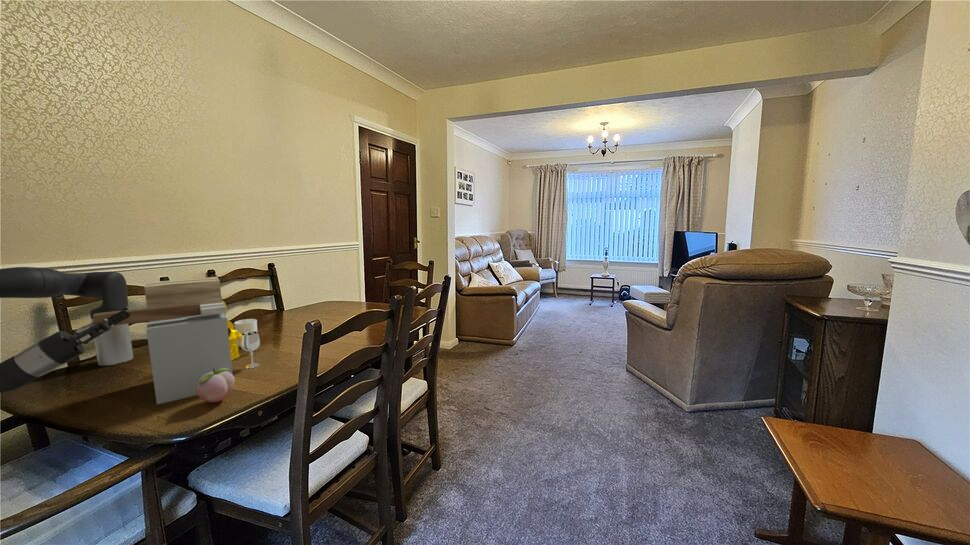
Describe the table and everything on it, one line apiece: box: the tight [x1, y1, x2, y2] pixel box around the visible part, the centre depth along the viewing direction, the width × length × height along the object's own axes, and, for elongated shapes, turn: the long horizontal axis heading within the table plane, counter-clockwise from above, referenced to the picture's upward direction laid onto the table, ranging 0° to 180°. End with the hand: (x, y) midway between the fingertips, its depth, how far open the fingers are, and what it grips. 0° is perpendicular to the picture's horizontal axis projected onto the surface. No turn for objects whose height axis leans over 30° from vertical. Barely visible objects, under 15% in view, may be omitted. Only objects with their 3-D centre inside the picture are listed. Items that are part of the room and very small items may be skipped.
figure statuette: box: [222, 300, 242, 362], centre depth 136 cm, size 18×8×22 cm, turn 149°
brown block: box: [93, 302, 227, 325], centre depth 105 cm, size 8×28×3 cm, turn 130°
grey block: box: [145, 313, 234, 405], centre depth 111 cm, size 9×18×22 cm, turn 130°
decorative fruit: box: [195, 368, 236, 403], centre depth 104 cm, size 9×8×10 cm
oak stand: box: [144, 276, 223, 322], centre depth 119 cm, size 10×18×32 cm, turn 130°
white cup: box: [233, 318, 258, 348], centre depth 152 cm, size 8×8×10 cm
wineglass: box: [240, 331, 261, 369], centre depth 129 cm, size 6×6×12 cm
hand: (128, 311), depth 100 cm, fingers closed on brown block, 3 cm apart
